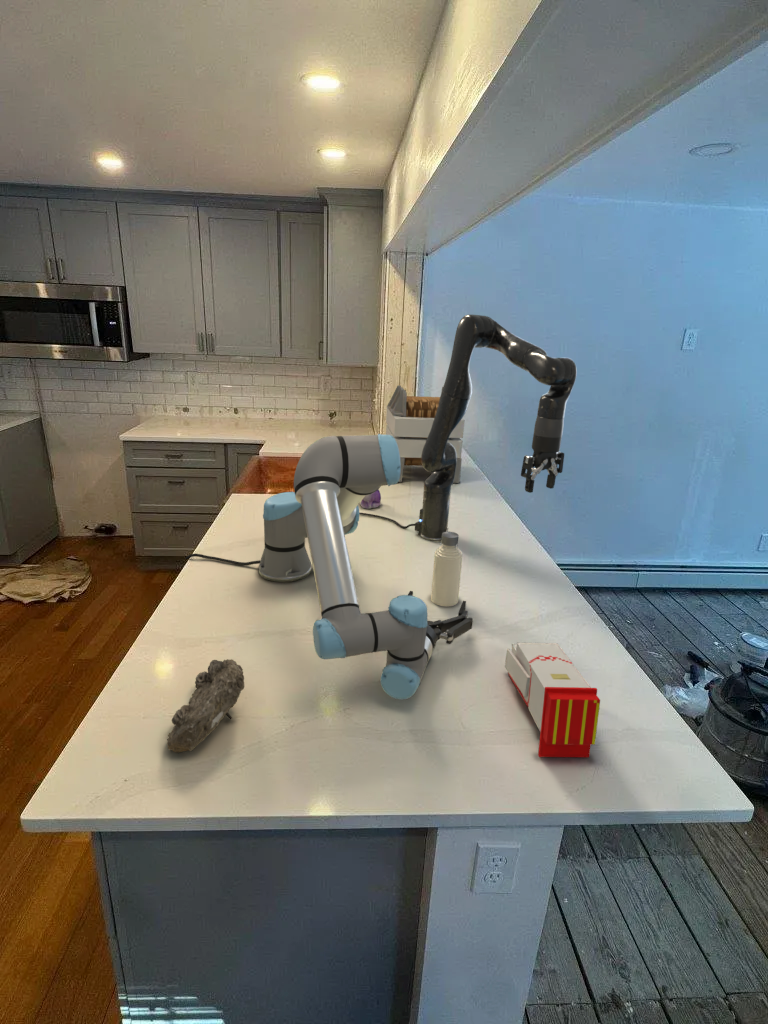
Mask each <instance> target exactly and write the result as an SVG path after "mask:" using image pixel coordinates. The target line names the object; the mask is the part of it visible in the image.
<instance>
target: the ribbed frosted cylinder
mask: <svg viewBox="0 0 768 1024" xmlns="http://www.w3.org/2000/svg"><path fill="white" fill-rule="evenodd" d="M463 557H464V556H463V552H462V550H461V549H460V548H459V547H458V546H457V545H456V546H446V545H444V544H442V543H441V545H440V546H438V548H436V549H435V551H434V554H433V568H432V579H431V580H432V581H431V582H432V583H431V590H430V591H431V592H430V600H431V602H432V603H433V604H435V605H437V606H440V607H453V606H456V605H457V604H458V603H459V598H460V597H459V596H460V587H461V585H460V584H461V578H462V577H461V576H462V568H463V567H462V566H463Z"/></svg>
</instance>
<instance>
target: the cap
mask: <svg viewBox="0 0 768 1024" xmlns="http://www.w3.org/2000/svg"><path fill="white" fill-rule="evenodd" d="M459 539H460V535H459V534H458V533H457V532H455V531H448V532H443V533H442V538H441V541H440V543H441V545H442V544H444V545H446V546H457V545H458V544H459Z"/></svg>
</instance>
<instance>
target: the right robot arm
mask: <svg viewBox="0 0 768 1024" xmlns="http://www.w3.org/2000/svg"><path fill="white" fill-rule="evenodd" d="M476 348H477V349H478V348H479V349H483V348H486V349H491V350H495V351H497V352H499V353H501V354H503V356H505V358H506V359H507V361H509V362H510V363H511V364H512V365H514V366H516V367H518V368H519V369H522V370H523V371H525V372H528V373H529V374H530V376H531V377H533V378H534V379H535V380H536V381H537V382H539V383H541V384H543V385H545V386H549V389H548V391H547V392H546V393H544V394H542V395H541V396H540V397H539V401H538V406H537V415H536V419H535V422H534V427H533V434H532V441H531V449H532V451H533V453H532V455H527V454H525V455H524V457H523V459H522V460H523V461H522V465H521V471H520V477H522V478H525V484H524V490H525V492H527V493H530V494H532V493H533V492H534V486H535V478H536V477H537V475H539V474H540V473H541V472H543V471H545V470H546V471H547V473H548V474H547V477H546V483H545V487H546V488H548V489H554V487H555V484H556V479H557V477H558V475H559V474H562V473H563V469H564V461H565V452H562V451H561V446H562V445H561V444H562V438H563V434H564V433H563V432H564V422H565V421H564V420H565V415H566V407H567V402H568V401H569V398H570V395H571V393H572V390H573V389H574V386H575V383H576V381H577V376H578V375H577V374H578V370H577V365H576V363H575V361H574V360H573V359H572V358H570V357H551V356H549V355H548V353H547V351H546V350H544V349H543V348H542V347H540V346H538V345H536V344H534V343H532V342H529V341H527V340H526V339H523V338H521V337H519V336H517V335H515V334H514V333H512V332H511V331H509V330H508V329H506V328H505V327H503V326H502V325H501V324H500V323H498V322H497V321H496V320H495V319H493V318H492V317H490V316H488V315H483V314H482V315H481V314H465V315H464V316H463V317H462V318H461V319H460V320H459V322H458V324H457V327H456V330H455V334H454V340H453V345H452V351H451V356H450V361H449V365H448V369H447V372H446V377H445V381H444V383H443V386H442V387H443V389H442V388H441V392H442V393H441V392H440V396H439V397H440V400H439V404H438V408H437V411H436V415H435V418H434V421H433V424H432V428H431V430H430V433H429V435H428V438H427V440H426V443H425V445H424V448H423V451H422V455H421V462H422V466H421V467H423V470H424V471H426V472H428V473H431V474H430V475H429V476H428V477H427V478H426V479H425V480H424V482H423V493H422V496H423V497H422V506H421V508H420V509H419V516H418V521H416V522H414V523H409V524H408V525H407V524H406V525H404V526H403V525H402V524H400V523H399V522H398V521H396V520H395V519H392V518H390V517H386V516H382V515H378V514H372V513H368V512H367V513H365V512H359V516H369V517H374V518H379V519H383V520H386V521H389V522H392V523H394V524H395V525H396V526H398V527H399V528H401V529H405V530H406V529H408V528H410V527H414V531H415V532H417V535H418V536H420V538H421V539H424V540H426V541H432V542H441V538H442V533H443V532H449V527H448V525H449V517H450V516H449V514H450V504H451V494H452V493H451V491H452V486H453V484H454V483H453V482H454V477H455V470H456V462H457V455H456V450H455V448H454V447H453V445H452V444H450V443H448V442H447V441H448V438H449V436H450V434H451V433H452V431H453V430H454V428H455V427H456V426H457V425H458V423H459V422H460V421H461V419H464V417H465V414H466V412H467V410H468V408H469V404H470V401H471V398H472V394H473V384H472V379H471V374H470V363H471V358H472V355H473V351H474V349H476Z"/></svg>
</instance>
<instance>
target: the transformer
mask: <svg viewBox="0 0 768 1024" xmlns="http://www.w3.org/2000/svg"><path fill="white" fill-rule="evenodd" d="M442 389H443V386H442V387H441V390H442ZM441 393H442V391H441V392H440V394H441ZM407 394H408V393H407V390H406V389H404V388H403V387H402V385H399V384H398V385H397V386H396V388H395V390H394V392H393V394H392V395H391V398H390V400H389V402H388V404H387V405H386V413H385V414H386V415H385V423H386V428H385V435H391V436H393V437H394V439H395V440H396V442H397V445H398V449H399V454H400V464H401V471H400V478H399V481H398V483H402V482H403V475H404V469H405V466H406V467H407V466H411V467H412V466H413V467H415V466H416V467H417V466H418V467H423V466H422V462H421V455H422V451H423V448H424V445H425V443H426V440H427V438H428V435H429V433H430V430H431V428H432V424H433V421H434V418H435V415H436V411H437V408H438V404H439V400H440V396H415V395H414V396H413V395H412V396H411V395H407ZM464 429H465V419H464V418H462V419H461V421H460V422H459V423H458V425H457V426H456V427H455V428H454V430H453V431H452V433H451V434H450V436H449V438H448V441H447V442H448V443H450V444H452V445H453V447H454V448H455V450H456V455H457V462H456V470H455V477H454V482H453V484H455V483H456V484H459V483H461V472H462V461H463V460H462V453H463V442H464V441H463V440H462V439H463V438H464V431H465V430H464Z"/></svg>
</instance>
